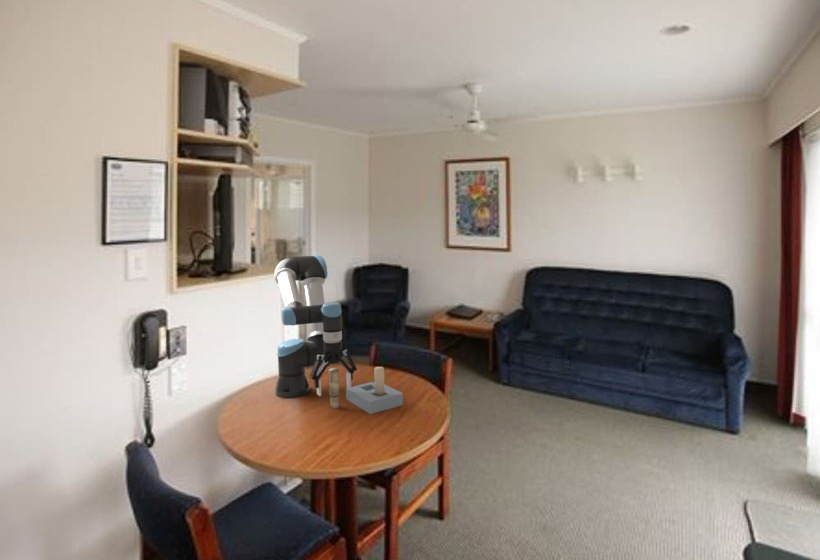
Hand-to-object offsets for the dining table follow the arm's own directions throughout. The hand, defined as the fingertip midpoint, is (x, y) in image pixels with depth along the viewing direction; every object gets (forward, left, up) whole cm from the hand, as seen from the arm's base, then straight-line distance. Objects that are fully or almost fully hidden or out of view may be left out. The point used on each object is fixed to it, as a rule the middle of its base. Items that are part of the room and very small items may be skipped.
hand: (334, 391), depth 198 cm
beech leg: (0, 0, -7) cm, 7 cm away
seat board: (+5, +16, -7) cm, 18 cm away
